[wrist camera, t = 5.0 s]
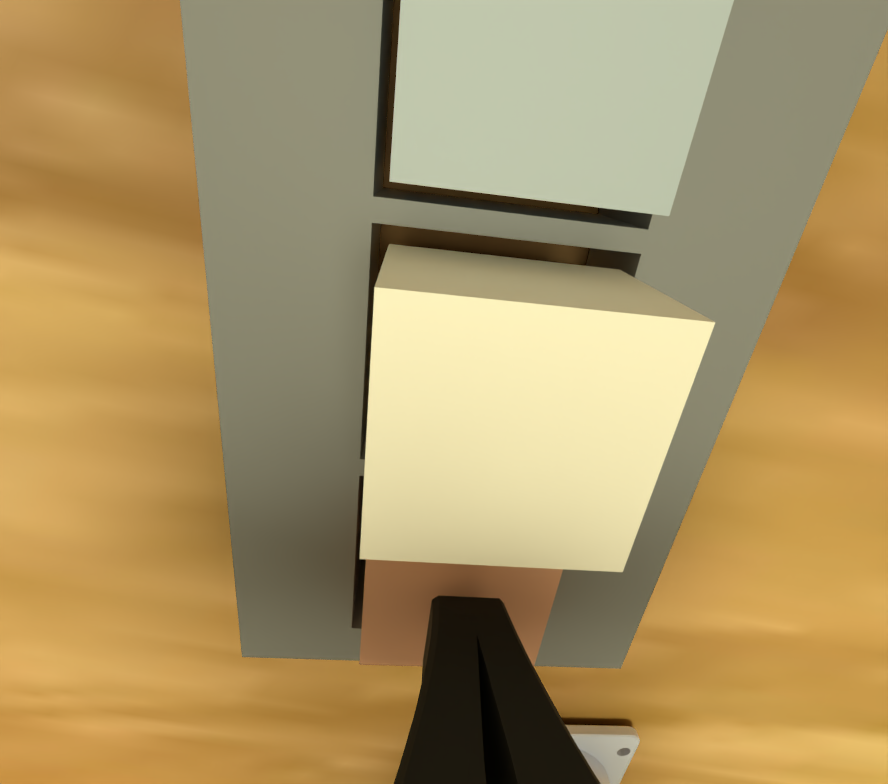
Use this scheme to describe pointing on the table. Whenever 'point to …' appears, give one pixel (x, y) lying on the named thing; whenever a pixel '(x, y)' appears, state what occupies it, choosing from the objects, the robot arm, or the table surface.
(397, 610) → the key terracotta
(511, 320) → the key ivory
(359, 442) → the keypad base
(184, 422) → the table surface
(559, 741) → the robot arm
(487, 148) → the key slate
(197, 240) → the table surface
